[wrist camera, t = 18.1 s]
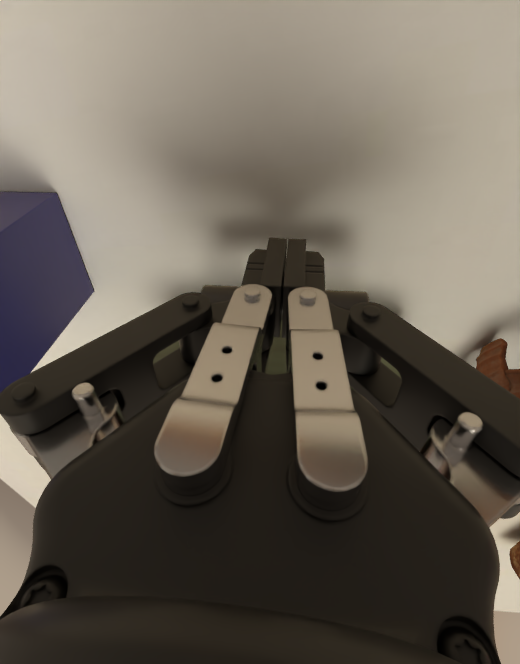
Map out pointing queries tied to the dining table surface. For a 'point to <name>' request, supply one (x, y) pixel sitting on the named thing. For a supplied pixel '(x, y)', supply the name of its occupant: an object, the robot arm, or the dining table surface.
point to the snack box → (35, 280)
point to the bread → (515, 558)
